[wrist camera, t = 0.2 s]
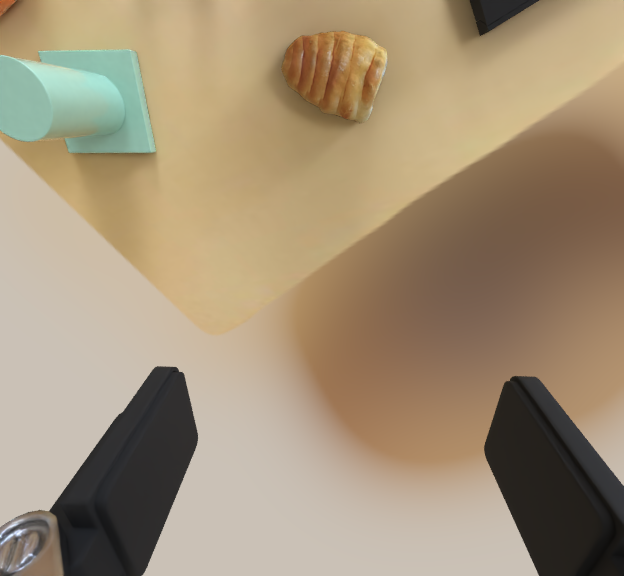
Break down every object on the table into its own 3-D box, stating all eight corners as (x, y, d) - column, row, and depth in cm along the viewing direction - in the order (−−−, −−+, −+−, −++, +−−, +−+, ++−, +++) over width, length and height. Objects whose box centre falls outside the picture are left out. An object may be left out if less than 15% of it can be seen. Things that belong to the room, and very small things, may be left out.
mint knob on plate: (46, 53, 33) (-76, 25, 23) (136, 51, 33) (51, 23, 23) (76, 151, 37) (-18, 165, 27) (156, 151, 37) (91, 165, 27)
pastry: (278, 100, 34) (272, 98, 31) (292, 18, 31) (288, 6, 28) (368, 125, 35) (372, 126, 31) (391, 47, 32) (398, 38, 28)
